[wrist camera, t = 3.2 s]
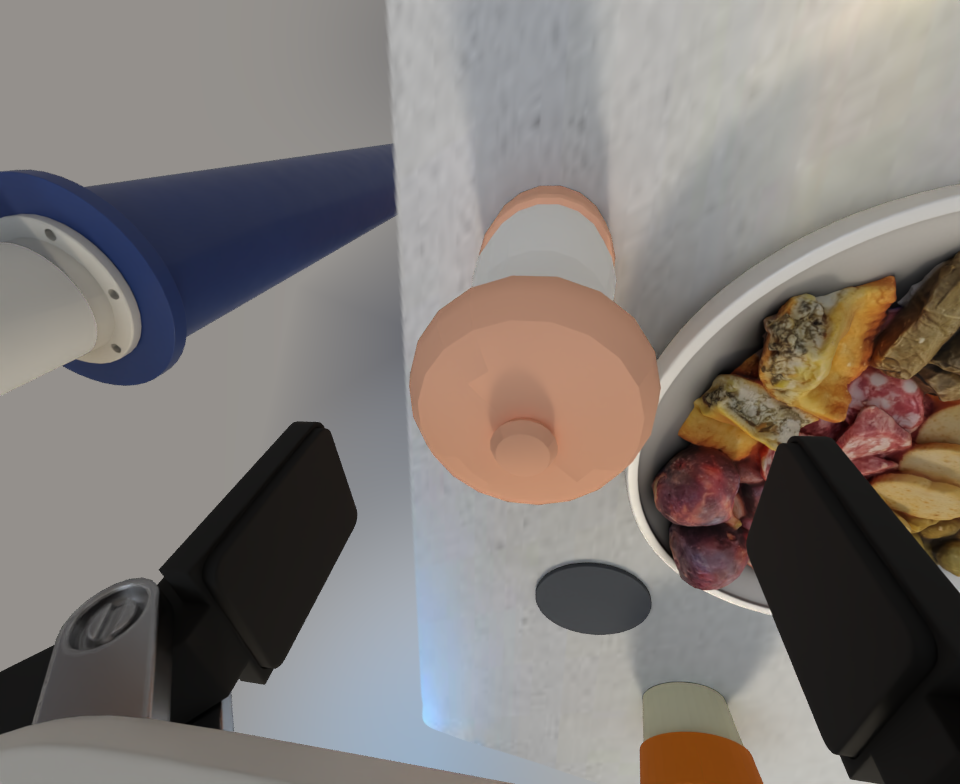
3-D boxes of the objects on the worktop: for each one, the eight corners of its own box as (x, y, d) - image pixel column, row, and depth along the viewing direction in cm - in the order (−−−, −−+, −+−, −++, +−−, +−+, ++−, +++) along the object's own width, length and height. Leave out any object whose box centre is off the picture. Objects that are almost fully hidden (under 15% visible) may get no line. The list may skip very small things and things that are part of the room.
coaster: (537, 625, 47) (536, 628, 47) (534, 558, 41) (534, 562, 41) (644, 636, 45) (645, 640, 45) (657, 567, 39) (657, 571, 39)
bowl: (1097, -10, 17) (1422, -87, 11) (1247, 453, 26) (1481, 567, 19) (532, 393, 32) (525, 465, 25) (749, 607, 40) (786, 703, 33)
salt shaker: (479, 297, 28) (372, 528, 12) (496, 174, 24) (371, 282, 8) (590, 318, 28) (628, 585, 12) (626, 196, 24) (753, 353, 8)
